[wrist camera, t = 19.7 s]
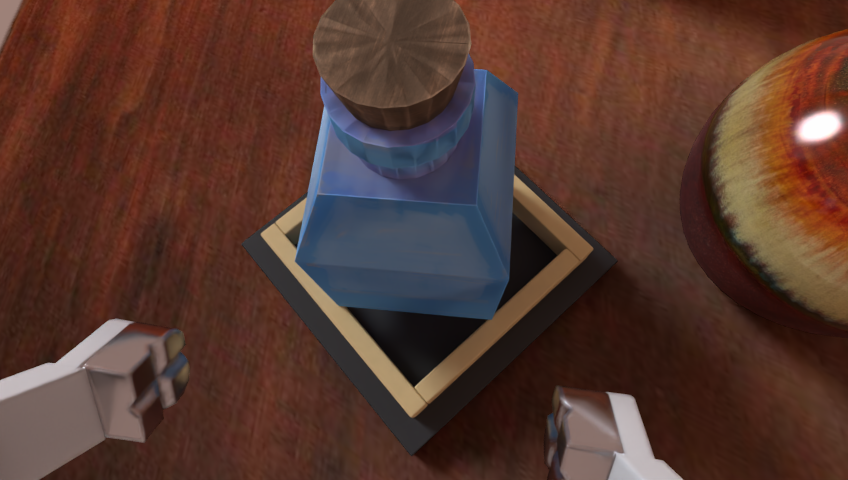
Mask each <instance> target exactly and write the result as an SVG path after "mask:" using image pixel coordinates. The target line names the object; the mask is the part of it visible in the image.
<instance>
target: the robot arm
mask: <svg viewBox="0 0 848 480" xmlns="http://www.w3.org/2000/svg"><path fill="white" fill-rule="evenodd" d="M185 345H186V344H185V339H184V335H183V332H181V331H180V330H178V329H175V328H169V327H163V326H157V325H152V324H146V323H140V322H132V321H126V320H120V319H113V320H109V321H107V322H106V323H105V324H103V325H102V326H101V327H100V328H98V329H97V330H96V331H95V332H94V333H92V334H91V335H90V336H89V337H87V338H86V339H85V340H84V341H82V342H81V343H80V344H79V345H77V346H76V347H75V348H74V349H73V350H71V351H70V352H69V353H68V354H66V355H65V356H64V357H63V358H61V359H60V360H59V361H58V362H57V363H55V364H54V363H46V364H43V365H41V366H38V367H35V368H32V369H29V370H27V371H24V372H21V373H18V374H16V375H13V376H10V377H7V378H5V379H2V380H0V480H39V479H41V478H43V477H44V476H46V475H47V474H49V473H51V472H52V471H54V470H56V469H57V468H59V467H61V466H62V465H64V464H66V463H67V462H69V461H70V460H72V459H74V458H75V457H77V456H79V455H80V454H82V453H84V452H85V451H87V450H89V449H90V448H92V447H93V446H95V445H97V444H98V443H100V442H102V441H103V440H105V437H108V438H115V439H122V440H129V441H136V442H145V441H146V440H147V439H148V437H149V436H150V435H151V434H152V432H153V431H154V430H155V429H156V427H157V426H158V425H159V424H160V423H161V421H162V420H163V419H164V416H163V410H164V409H166V408H168V407H170V406H172V405H174V404H176V403H177V401H178V400H179V399H180V397H181V396H182V395H183V393H184V391H185V389H186V386H187V384H188V381H189V373H190V368H189V362H188V360H187V359H186V358H185V356H184V355H183V354H182V353H181V350H182V349H183V348H184V346H185ZM552 409H553V413H552V414H550V415H549V416H548V417H547V422H546V427H545V434H544V462H545V464H546V466H547V467H548V468H549V473H548V477H547V480H683V479H682V478H681V477H680V476H679V475H678V474H677V473H676V472H675V471H674V470H673V469H672V468H671V467H669V466H668V465H667V464H666V463H665V462H664V461H663V460H657V459H655V457H654V454H653V451H652V448H651V445H650V442H649V439H648V436H647V433H646V430H645V427H644V424H643V421H642V419H641V416H640V413H639V410H638V407H637V404H636V401H635V398H634V397H633V396H632V395H628V394H620V393H612V392H606V393H605V392H600V391H593V390H586V389H579V388H572V387H565V386H558V385H556V387H555V389H554V392H553V396H552Z"/></svg>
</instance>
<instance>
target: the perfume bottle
mask: <svg viewBox="0 0 848 480" xmlns="http://www.w3.org/2000/svg"><path fill="white" fill-rule="evenodd" d="M470 47H471V37H470V28H469V23H468V21H467V19H466V17H465V15H464V13H463V11H462V9H461V8H460V6H459V5H458V4H457V3H456V2H455V1H454V0H335V1H334V2H333V4H332V5H331V6H330V7H329V8H328V9H327V11H326V12H325V13H324V14H323V15H322V16H321V18H320V21H319V23H318V26H317V28H316V31H315V33H314V36H313V58H314V61H315V63H316V66H317V68H318V71H319V74H320V76H321V97H322V100H323V103H324V105H325V106H324V111H323V116H322V122H321V127H320V132H319V137H318V143H317V148H316V153H315V158H314V163H313V169H312V174H311V179H310V184H309V189H308V195H307V200H306V205H305V210H304V215H303V221H302V226H301V231H300V236H299V241H298V247H297V252H296V257H295V262H296V263H297V264H298V265H299V266H300V267H301V268H302V269H303V270H304V271H305V272H306V273H307V274H308V275H309V276H310V277H311V278H312V279H313V280H314V281H315V283H316V284H317V285H318V286H319V287H320V288H321V289H322V290H323V291H324V292H325V293H326V294H327V295H328V296H329V297H330V298H331V299H332V300H333V301H334V302H335V303H336V304H337V305H338V306H345V307H356V308H367V309H378V310H389V311H400V312H411V313H422V314H433V315H444V316H455V317H466V318H477V319H488V320H492V319H493V316H494V314H495V311H496V309H497V307H498V304H499V302H500V300H501V297H502V295H503V293H504V290H505V288H506V286H507V283H508V281H509V272H510V251H511V230H512V209H513V188H514V167H515V146H516V125H517V104H518V93H517V92H516V91H514V90H513V89H512V88H510V87H509V86H508V85H506V84H505V83H504V82H502V81H501V80H500V79H498V78H497V77H496V76H494V75H493V74H492V73H490V72H489V71H487V70H478V69H474V64H473V61H472V59H471V57H470V55H469V50H470Z"/></svg>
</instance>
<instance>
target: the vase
mask: <svg viewBox="0 0 848 480" xmlns="http://www.w3.org/2000/svg"><path fill="white" fill-rule="evenodd" d="M680 215H681V220H682V225H683V230H684V234H685V237H686V239H687V242H688V245H689V247H690V249H691V251H692V253H693V255H694V257H695V258H696V260H697V262H698V264H699V265H700V266H701V268H702V269H703V270H704V272H705V273H706V274H707V276H708V277H709V278H710V279H711V280H712V281H713V282H714V283H715V284H716V285H717V286H718V287H719V288H720V289H721V290H722V291H723V292H724V293H725V294H727V295H728V296H729V297H730V298H732V299H733V300H734V301H736V302H737V303H738V304H740V305H742V306H743V307H745V308H747V309H749V310H750V311H752V312H754V313H755V314H757V315H759V316H761V317H764V318H766V319H768V320H771V321H773V322H775V323H778V324H780V325H783V326H787V327H790V328H794V329H798V330H801V331H805V332H809V333H813V334H821V335H828V336H836V337H844V338H848V29H845V30H842V31H839V32H835V33H832V34H829V35H826V36H823V37H820V38H817V39H814V40H811V41H809V42H806V43H804V44H802V45H800V46H798V47H796V48H794V49H792V50H790V51H788V52H786V53H784V54H782V55H780V56H778V57H776V58H774V59H773V60H771V61H770V62H768V63H766V64H765V65H764V66H762V67H761V68H760V69H758V70H757V71H756V72H754V73H753V74H752V75H750V76H749V77H748V78H746V79H745V80H744V81H742V82H741V83H740V84H739V85H738V86H737V87H736V88H735V89H733V91H732V92H731V93H730V94H729V95H728V96H727V97H726V98H725V99H724V100H723V101H722V102H721V104H720V105H719V106H718V107H717V108H716V109H715V110H714V112H713V113H712V114H711V116H710V117H709V119H708V120H707V122H706V124H705V125H704V127H703V128H702V130H701V132H700V133H699V135H698V137H697V138H696V140H695V142H694V144H693V147H692V149H691V152H690V154H689V157H688V160H687V163H686V166H685V169H684V172H683V178H682V184H681V190H680Z"/></svg>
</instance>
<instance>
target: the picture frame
mask: <svg viewBox="0 0 848 480" xmlns="http://www.w3.org/2000/svg"><path fill="white" fill-rule="evenodd" d="M307 195H308V192H307V193H305V194H304V195H303V196H302V197H300V198H299V199H298V200H297V201H295V202H294V203H293V204H291V205H290V206H289V207H288V208H286V209H285V210H284V211H282V212H281V213H280V214H279V215H277V216H276V217H275V218H273V219H272V220H271V221H270V222H268V223H267V224H266V225H265V226H263V227H262V228H261V229H259V230H258V231H257V232H256V233H254V234H253V235H252V236H250V237H249V238H248V239H247V240H245V241H244V242H243V243H242V246H243V247H244V248H245V249H246V251H247V252H248V253H249V254H250V256H251V257H252V258H253V259H254V261H255V262H256V263H257V264H258V266H259V267H260V268H261V269H262V271H263V272H264V273H265V274H266V276H267V277H268V278H269V279H270V281H271V282H272V283H273V284H274V286H275V287H276V288H277V289H278V291H279V292H280V293H281V294H282V296H283V297H284V298H285V299H286V301H287V302H288V303H289V304H290V306H291V307H292V308H293V309H294V311H295V312H296V313H297V314H298V316H299V317H300V318H301V319H302V321H303V322H304V323H305V324H306V326H307V327H308V328H309V329H310V331H311V332H312V333H313V334H314V335H315V337H316V338H317V339H318V340H319V342H320V343H321V344H322V345H323V347H324V348H325V349H326V350H327V352H328V353H329V354H330V355H331V357H332V358H333V359H334V360H335V362H336V363H337V364H338V365H339V367H340V368H341V369H342V370H343V372H344V373H345V374H346V375H347V377H348V378H349V379H350V380H351V382H352V383H353V384H354V385H355V387H356V388H357V389H358V390H359V392H360V393H361V394H362V395H363V397H364V398H365V399H366V400H367V402H368V403H369V404H370V405H371V407H372V408H373V409H374V410H375V412H376V413H377V414H378V415H379V417H380V418H381V419H382V420H383V422H384V423H385V424H386V425H387V427H388V428H389V429H390V430H391V432H392V433H393V434H394V435H395V437H396V438H397V439H398V440H399V442H400V443H401V444H402V445H403V447H404V448H405V449H406V450H407V452H408V453H409V454H410V455H411V456H413V455H414V454H415V453H416V452H417V451H418V450H419V449H420V448H421V447H422V446H423V445H424V444H425V443H426V442H428V441H429V440H430V439H431V438H432V437H433V436H434V435H435V434H436V433H437V432H438V431H439V430H440V429H441V428H442V427H443V426H444V425H445V424H446V423H448V422H449V421H450V420H451V419H452V418H453V417H454V416H455V415H456V414H457V413H458V412H459V411H460V410H461V409H462V408H463V407H464V406H465V405H467V404H468V403H469V402H470V401H471V400H472V399H473V398H474V397H475V396H476V395H477V394H478V393H479V392H480V391H481V390H482V389H483V388H484V387H486V386H487V385H488V384H489V383H490V382H491V381H492V380H493V379H494V378H495V377H496V376H497V375H498V374H499V373H500V372H501V371H502V370H503V369H505V368H506V367H507V366H508V365H509V364H510V363H511V362H512V361H513V360H514V359H515V358H516V357H517V356H518V355H519V354H520V353H521V352H522V351H523V350H525V349H526V348H527V347H528V346H529V345H530V344H531V343H532V342H533V341H534V340H535V339H536V338H537V337H538V336H539V335H540V334H541V333H542V332H544V331H545V330H546V329H547V328H548V327H549V326H550V325H551V324H552V323H553V322H554V321H555V320H556V319H557V318H558V317H559V316H560V315H561V314H563V313H564V312H565V311H566V310H567V309H568V308H569V307H570V306H571V305H572V304H573V303H574V302H575V301H576V300H577V299H578V298H579V297H580V296H581V295H583V294H584V293H585V292H586V291H587V290H588V289H589V288H590V287H591V286H592V285H593V284H594V283H595V282H596V281H597V280H598V279H599V278H600V277H602V276H603V275H604V274H605V273H606V272H607V271H608V270H609V269H610V268H611V267H612V266H613V265H614V264H615V263H616V262H617V260H616V259H615V258H614V257H613V256H612V255H611V254H610V253H609V252H608V251H607V250H606V249H605V248H603V247H602V246H601V245H600V244H599V243H598V242H597V241H596V240H595V239H594V238H593V237H592V236H590V235H589V234H588V233H587V232H586V231H585V230H584V229H583V228H582V227H581V226H580V225H579V224H577V223H576V222H575V221H574V220H573V219H572V218H571V217H570V216H569V215H568V214H567V213H566V212H565V211H563V210H562V209H561V208H560V207H559V206H558V205H557V204H556V203H555V202H554V201H553V200H552V199H550V198H549V197H548V196H547V195H546V194H545V193H544V192H543V191H542V190H541V189H540V188H539V187H537V186H536V185H535V184H534V183H533V182H532V181H531V180H530V179H529V178H528V177H527V176H526V175H524V174H523V173H522V172H521V171H520V170H519V169H518V168H517V167H516V166H515V167H514V188H513V209H512V230H511V251H510V272H509V281H508V283H507V286H506V288H505V290H504V293H503V295H502V297H501V300H500V302H499V304H498V307H497V309H496V311H495V314H494V316H493V319H492V320H488V319H477V318H466V317H455V316H444V315H433V314H422V313H411V312H400V311H389V310H378V309H367V308H356V307H345V306H338V305H337V304H336V303H335V302H334V301H333V300H332V299H331V298H330V297H329V296H328V295H327V294H326V293H325V292H324V291H323V290H322V289H321V288H320V287H319V286H318V285H317V284H316V283H315V281H314V280H313V279H312V278H311V277H310V276H309V275H308V274H307V273H306V272H305V271H304V270H303V269H302V268H301V267H300V266H299V265H298V264H297V263H296V262H295V257H296V252H297V247H298V241H299V236H300V231H301V226H302V221H303V215H304V210H305V205H306V200H307Z"/></svg>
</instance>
